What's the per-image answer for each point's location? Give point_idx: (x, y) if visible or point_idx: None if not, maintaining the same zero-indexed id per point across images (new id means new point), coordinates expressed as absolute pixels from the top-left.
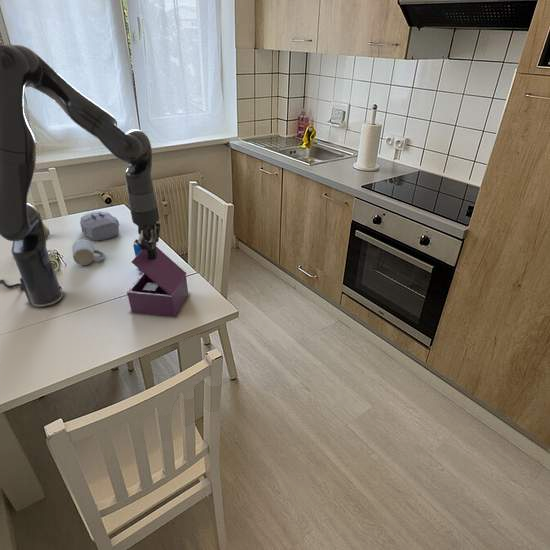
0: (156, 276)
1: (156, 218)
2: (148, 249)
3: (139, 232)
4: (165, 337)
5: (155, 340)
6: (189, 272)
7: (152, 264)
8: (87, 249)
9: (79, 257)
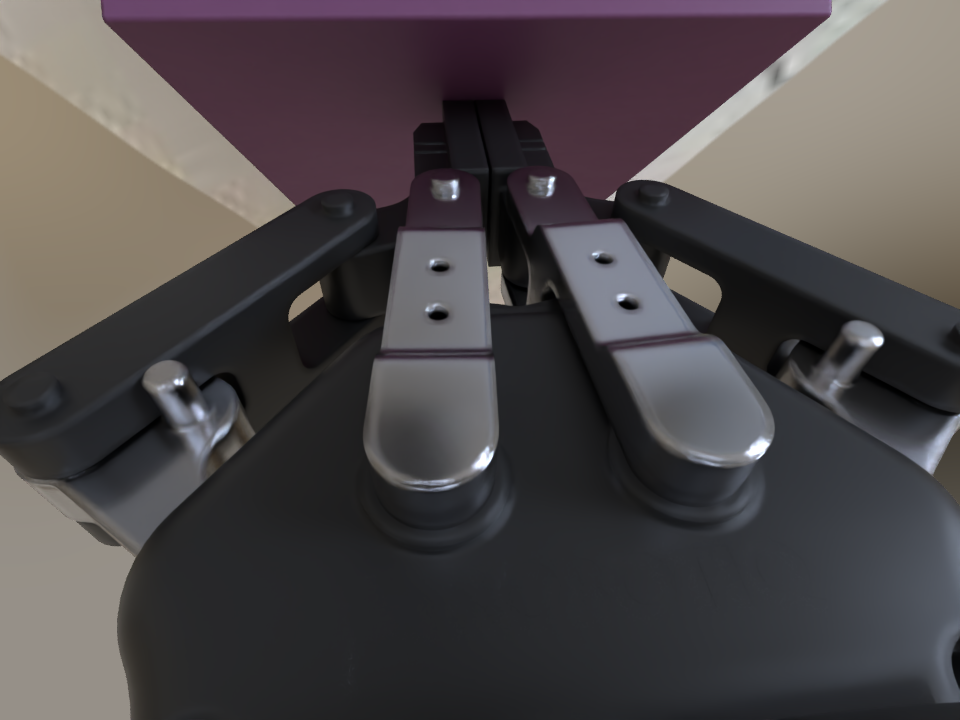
0: (315, 173)
1: None
2: (316, 306)
3: (127, 610)
4: (154, 150)
5: (99, 105)
6: (808, 45)
7: (403, 134)
8: None
9: None
